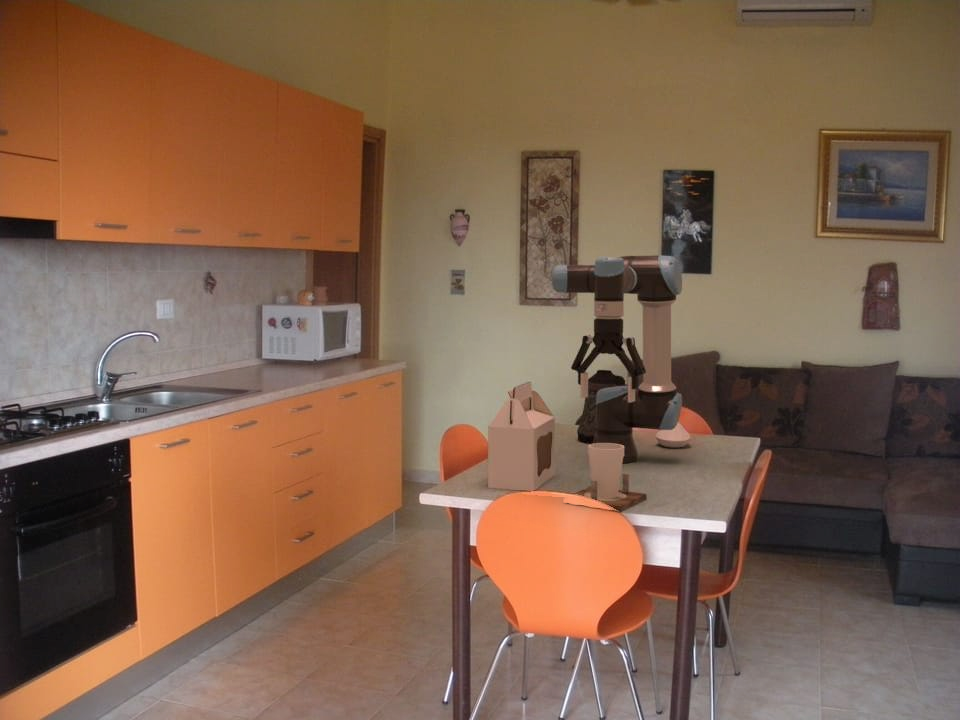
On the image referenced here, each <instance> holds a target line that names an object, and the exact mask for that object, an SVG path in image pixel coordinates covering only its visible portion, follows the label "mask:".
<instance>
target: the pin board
mask: <svg viewBox="0 0 960 720" xmlns="http://www.w3.org/2000/svg"><path fill="white" fill-rule="evenodd" d="M629 481H630V474H629V473H628V474H627V473H623V474H622V489H618V496H617V497H615V498H599V497H597V481H592V480H591V481H590V486H589V487H586V488H584V489H580V490H578V491H576V492H574V493H572V494H578V495H582V496H586V497H590V498H592V499H595V500H598V501H601V502H603V503H605V504H607V505H609V506H611V507H613V508H614V509H616V510H618V511H619V512H618V513H621V512H624V511H626V510H627V509H629V508H631V507H634V506H636V505H638V504H640V503H642V502H644V501H647V493H642V492H636V491H630V490H629V487H630V486H629V485H630V484H629V483H630V482H629Z"/></svg>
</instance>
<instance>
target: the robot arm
mask: <svg viewBox="0 0 960 720" xmlns="http://www.w3.org/2000/svg"><path fill="white" fill-rule="evenodd" d="M551 285H552V289H553V290H554V292H556V293H564V294H593V295H594V297H593V300H594V302H593V303H594V304H593V306H594V307H593V310H594V311H593V315H594V317H596V318H594V319H593V333H594V334H593V336H591V335H590V334H588V335H583V336H582V340H581V341H582V342H581V344H580V347H579V349H578V351H577V354H576V356H575V357H574V360H573V362H572V364H571V366H570V368H571V370H572V371H576V372H577V384H578V385H579V386H580V399H585V398H586V397H588V379H589V372H587V370H588V369H589V367H590V366H591V365H592V363H593V362H594V361H595V360H596V359H597V357H598V356H599V355H605V354H608V355H614V356H616V357H617V358H618V359H619V361H620V362H621V364H622V365H623V366H624V367H625V369H626V370H627V371H628V373H629V374H630V376H627V380H628V381H627V385H628V386H616V387H608V388H603V389H600V390H599V391H598V392H597V398H596V435H595V438H594V441H593V444H594V443H614V444H620V445H623V446H624V457H623V462H622V464H626V463H627V464H628V463H634V462H636V461H638V459H639V458H638V456H639V453H638V448H637V447H636V443H635V440H634V434H633V432H634V431H633V428H634V429H643V430H644V429H645V430H659V431H660V430H672V429H674V428H675V427H676V426H677V423H678V422H680V421H679V420H680V417H681V412H682V407H683V396H682V394H681V393H680V392H677V386H676V385H675V384H674V383H673V382H672V306H673V304H674V303H675V301H676V300H677V296H678V295H680V294H681V293H682V290H683V276H682V269H681V267H680V263H679V261H678V259H677V258H676V257H675V256H672V255H661V254H659V255H655V254H654V255H623V256H618V257H598V258H596V259H595V261H594V263H586V264H583V263H582V264H559V265H556V266H555V267H554V268H553V270H552V273H551ZM625 294H629V295H630V294H631V295H636V296H637V302H638V303H639V304H640V305H641V306H642V359H641V356H640V353H639V351H638V350H637V347H636V343H635V342H636V340H635V337H632V336H631V337H626V338H624V334H623V333H624V319H623V316H624V315H625V314H624V313H625V312H624V308H625V307H624V301H625V300H624V298H625V297H624V296H625ZM591 344H593V345H594V347H593V348H592V349H591V352H590V353H589V354H588V355H587V352H588V350H589V349H590V346H591ZM623 345H625V346H626V349H627V351H628V354H629V356H630V358H629V356H628V355H627V354H626V350H624V348H623V347H622V346H623ZM586 355H587V357H586ZM585 357H586V358H585ZM641 375H642V383H640V382H639V381H640V380H639V379H640V376H641ZM639 384H640V385H639Z"/></svg>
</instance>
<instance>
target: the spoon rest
mask: <svg viewBox="0 0 960 720" xmlns="http://www.w3.org/2000/svg"><path fill="white" fill-rule="evenodd" d="M655 438H656V441H657V442H658V443H659V444H660V445H661V446H662V447H664V448H670V449H679V448H680V447H681V448H683V447H685V446H686V445H688V444H689V442H690V440H691V434H689V432H688V431H687V430H686V429H685V428H684V427H683V426H682V424H681V423H680V421H678V423H677V426H676V427H675V428H674V429H672V430H659V431H658V432H657V433H656V434H655Z"/></svg>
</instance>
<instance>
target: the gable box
mask: <svg viewBox="0 0 960 720" xmlns="http://www.w3.org/2000/svg"><path fill="white" fill-rule="evenodd" d="M507 393H508V395H509V398H508V399H507V400H506V401H505V402H504V403H503V405H502V406H501V408H500V409H499V410H498V412H497V414H496V415H495V416H494V418H493V419H492V421H491V423H490V424H489V425H488V426H487V428H488V429H487V442H488V443H487V488H488V489H494V490H495V489H496V490H506V491H507V490H508V491H518V490H535V491H536V490H537V489H539V488H540V487H541V486H542V485H544V484H545V483H546V482H548V481H549V480H551V478H553V477H554V476H555V435H556V434H555V429H556V428H555V424H556V423H555V419H556V416H554V415H553V414H552V411H551V410H550V409H549V408H548V406H547V405H546V403H545V401H544V400H543V398H542V397H541V395H540V394H539V393H538V392H537V391H535V390H533V384H532V381H527V382H525V383H522V384H520V385H517V386H515V387H513V389H511V390H509V391H507Z"/></svg>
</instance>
